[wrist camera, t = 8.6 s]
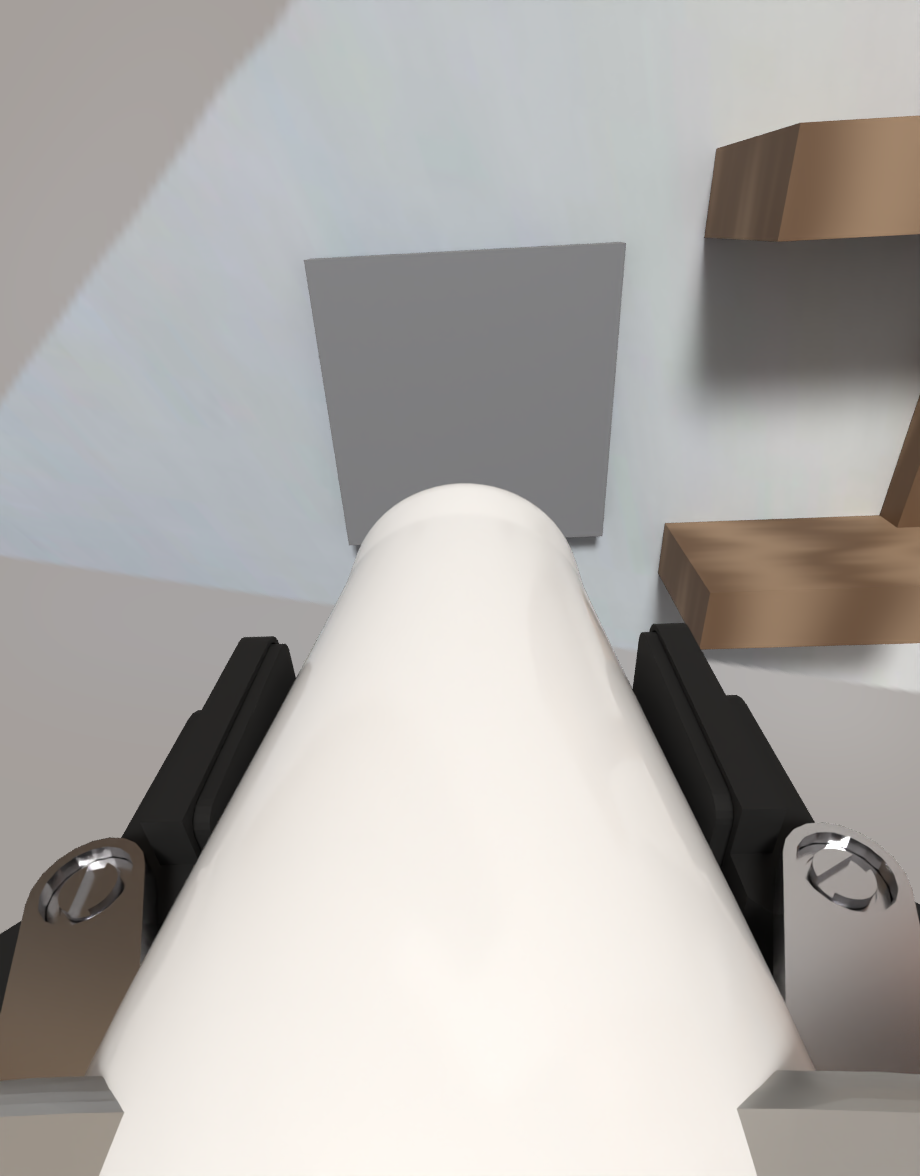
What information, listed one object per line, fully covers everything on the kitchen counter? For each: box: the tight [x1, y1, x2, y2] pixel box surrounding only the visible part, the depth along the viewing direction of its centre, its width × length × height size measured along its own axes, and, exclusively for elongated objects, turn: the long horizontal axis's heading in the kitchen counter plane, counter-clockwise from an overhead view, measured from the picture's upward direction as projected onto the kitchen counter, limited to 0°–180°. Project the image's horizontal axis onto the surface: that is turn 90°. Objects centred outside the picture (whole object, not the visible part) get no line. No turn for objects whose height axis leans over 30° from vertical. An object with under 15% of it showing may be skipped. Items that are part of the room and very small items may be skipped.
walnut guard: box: [658, 116, 920, 649], centre depth 25 cm, size 13×19×7 cm
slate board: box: [304, 242, 626, 545], centre depth 28 cm, size 13×13×1 cm
